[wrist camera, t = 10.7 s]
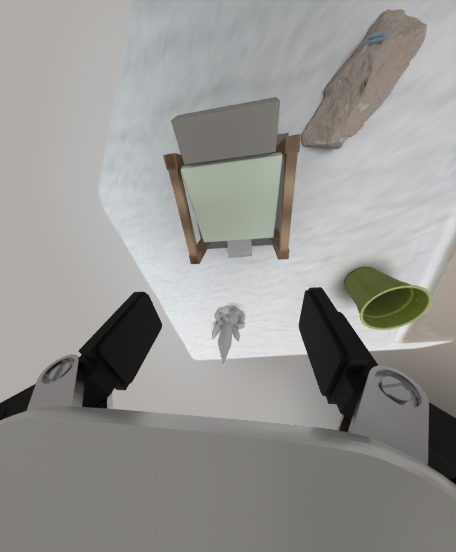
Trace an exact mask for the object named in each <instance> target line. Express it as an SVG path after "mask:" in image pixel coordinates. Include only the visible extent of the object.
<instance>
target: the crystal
mask: <svg viewBox="0 0 456 552" xmlns="http://www.w3.org/2000/svg"><path fill="white" fill-rule="evenodd" d="M215 319H216V321H217V322H218V323H217V324H216V326H215V327H214V329H213V331H212V339H213V338H214V337H215V336H216V335H217V334H218V333H219V331H220V330H221V332H220V335H219V339H218V345H219V350H220V353H221V357H222V361H223V363H224V361H225V359H226V356H227V354H228V351H229V349H230V346H231V340H232V332H233V335H234V338H235V339H236V340H237V341H238V342H239V337H240V334H239V332H238V328H239V329H241V328H244V324H245V322H244V320H245V315H244V313H243V312H242V311H241V310H239V309H238V308H236V307H234V306H224V307H221V308H218V310H217V312H216V313H215ZM221 327H222V329H221Z"/></svg>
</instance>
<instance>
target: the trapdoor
mask: <svg viewBox="0 0 456 552" xmlns="http://www.w3.org/2000/svg"><path fill="white" fill-rule="evenodd" d="M279 106H280V100H278V99H277V98H276V97H275V98H269V99H264V100H258V101H253V102H248V103H242V104H237V105H231V106H226V107H221V108H215V109H210V110H204V111H199V112H194V113H188V114H183V115H178V116H177V117H175V118H174V119H173V120H171V122H172V125H173V129H174V132H175V135H176V139H177V142H178V145H179V149H180V152H181V155H182V159H183V162H184V165H185V164H193V163H200V162H207V161H214V160H221V159H228V158H235V157H242V156H249V155H256V154H264V153H271V152H276V142H277V130H278V118H279ZM282 156H283V155H282V153H281V152H280V153H273V154H266V155H259V156H252V157H244V158H237V159H230V160H223V161H216V162H209V163H201V164H194V165H187V166H182V167H181V172H182V175H183V178H184V181H185V184H186V188H187V191H188V194H189V197H190V200H191V203H192V206H193V209H194V213H195V216H196V219H197V222H198V225H199V228H200V231H201V234H202V238H203V241H204V242H217V241H231V240H245V239H259V238H273V237H274V228H275V219H276V210H277V201H278V192H279V183H280V174H281V165H282Z"/></svg>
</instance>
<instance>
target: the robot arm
mask: <svg viewBox="0 0 456 552" xmlns="http://www.w3.org/2000/svg"><path fill="white" fill-rule="evenodd" d="M161 328H162V323H161V321H160V318H159V317H158V314H157V312H156V310H155V308H154V306H153V303H152V301H151V299H150V297H149V295H148V294H146V293H145V292H134V293H133V294H132V295H131V296H130V297H129V298H128V299H127V300H126V301H125V302H124V303H123V304H122V305H121V306H120V308H119V309H118V310H117V311H116V312H115V313H114V314H113V315H112V316H111V317H110V318H109V319H108V320H107V321H106V322H105V323H104V324H103V326H102V327H101V328H100V329H99V330H98V331H97V332H96V333H95V334H94V335H93V336H92V337H91V338H90V339H89V340H88V341H87V342H86V344H84V346H83V347H82V348H81V349H80V350H79V352H80V353H81V354H82V355H81V356H80V357H78V356H76V355H67V356H65V357H62V358H60V359H58V360H56V361H55V362H54V363H52V364H51V365H49V366H48V367H47V368H46V369H45V370H44V371H43V372H42V373H41V375H40V376H39V378H38V380H37V382H36V384H35V385H33V386H31V387H29V388H27V389H25V390H24V391H22V392H20V393H18V394H16V395H14V396H12V397H11V398H9V399H7V400H5V401H4V402H1V403H0V552H456V418H454V417H453V416H451V415H449V414H448V413H446V412H444V411H442V410H441V409H439V408H437V407H436V406H434V405H433V404H431V403H429V402H428V398H427V396H426V394H425V393H424V391H423V390H422V389H421V387H420V386H419V385H418V384H417V383H416V382H415V381H414V380H413V379H411V378H410V377H409V376H407V375H406V374H404V373H402V372H401V371H399V370H397V369H394V368H392V367H388V366H378V364H377V363H376V361H375V360H374V358H373V357H372V356H371V354H370V353H369V351H368V350H367V348H366V347H365V345H364V344H363V342H362V341H361V339H360V338H359V337H358V335H357V334H356V332H355V331H354V329H353V328H352V326H351V325H350V324H349V322H348V321H347V319H346V318H345V316H344V315H343V314H342V313H341V312H338V311H337V310H336V308H335V307H334V305H333V304H332V302H331V301H330V299H329V298H328V296H327V295H326V293H325V292H324V290H323V289H322V288H321V287H319V288H309V290H306V291H305V294H304V300H303V305H302V310H301V315H300V321H299V330H300V333H301V336H302V339H303V342H304V345H305V348H306V351H307V354H308V356H309V359H310V362H311V365H312V368H313V371H314V374H315V377H316V380H317V383H318V386H319V389H320V392H321V394H322V395H323V396H326V398H327V401H328V403H329V404H337V406H338V408H339V411H340V413H341V414H342V417H341V420H340V423H339V426H338V429H337V430H331V429H325V428H316V427H307V426H298V425H289V424H280V423H268V422H258V421H247V420H235V419H224V418H213V417H201V416H190V415H178V414H177V415H176V414H166V413H154V412H142V411H130V410H129V411H128V410H117V409H113V401H112V391H113V390H114V388H116V390H126V389H127V387H128V385H129V384H130V383H131V382H132V381H133V380H134V378H135V376H136V374H137V372H138V370H139V368H140V367H141V365H142V363H143V361H144V360H145V358H146V356H147V354H148V352H149V350H150V349H151V347H152V345H153V343H154V341H155V339H156V337H157V336H158V334H159V332H160V330H161Z"/></svg>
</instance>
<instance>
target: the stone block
mask: <svg viewBox="0 0 456 552" xmlns="http://www.w3.org/2000/svg"><path fill="white" fill-rule="evenodd" d="M227 245H228V254H229V257H245V256H252V249H251V239H245V240H231V241H227Z"/></svg>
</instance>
